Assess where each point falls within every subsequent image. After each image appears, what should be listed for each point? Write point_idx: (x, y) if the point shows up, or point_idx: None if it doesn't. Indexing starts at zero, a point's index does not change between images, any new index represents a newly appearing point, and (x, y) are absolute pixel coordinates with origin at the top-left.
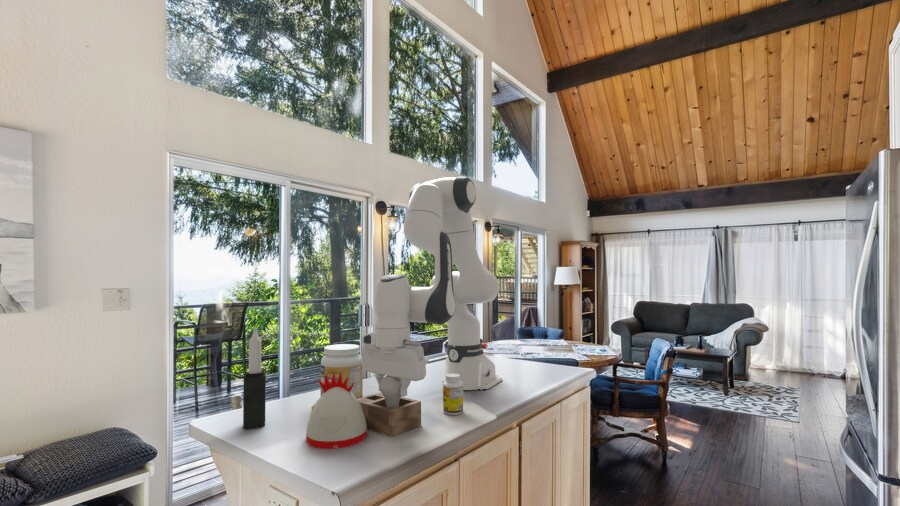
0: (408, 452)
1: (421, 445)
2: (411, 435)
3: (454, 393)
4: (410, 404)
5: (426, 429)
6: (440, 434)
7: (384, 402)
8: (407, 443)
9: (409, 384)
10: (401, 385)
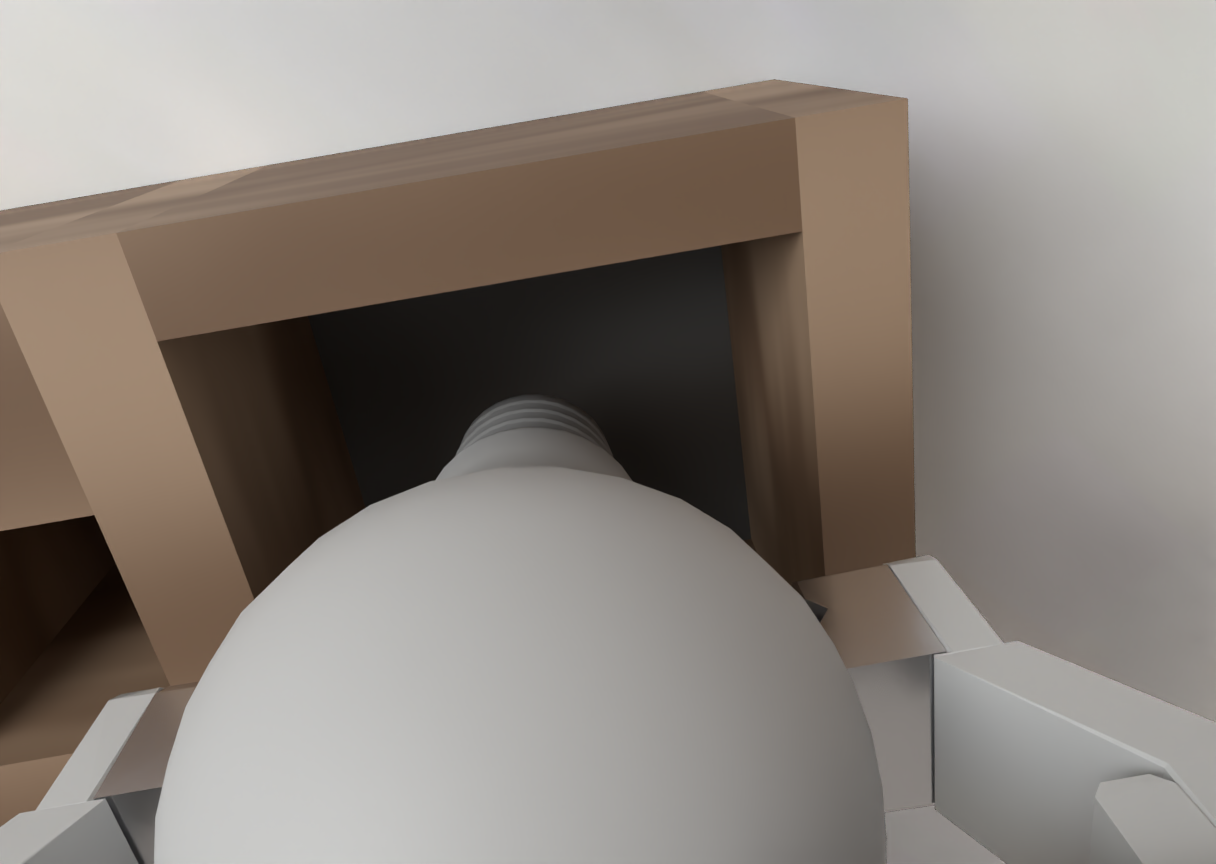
0: (1203, 643)
1: (1210, 475)
2: (933, 394)
3: None
4: (887, 397)
5: (940, 124)
6: (1209, 104)
7: (264, 545)
8: (1056, 545)
9: (1162, 702)
10: (880, 780)
